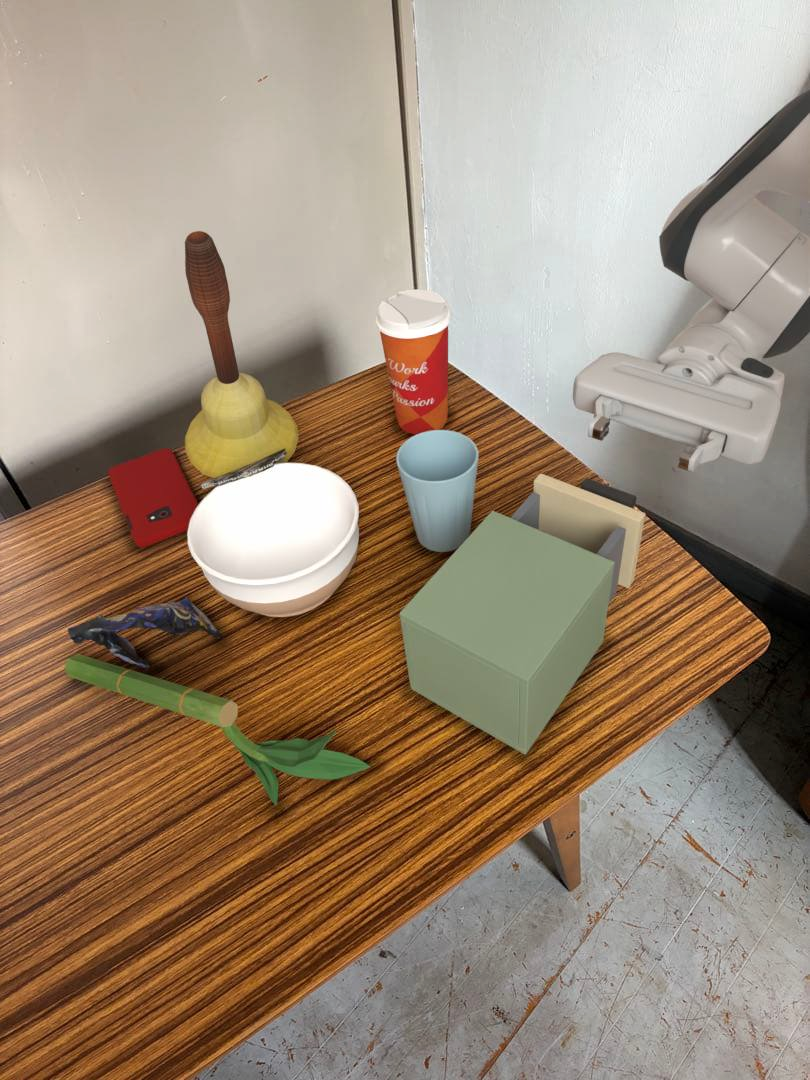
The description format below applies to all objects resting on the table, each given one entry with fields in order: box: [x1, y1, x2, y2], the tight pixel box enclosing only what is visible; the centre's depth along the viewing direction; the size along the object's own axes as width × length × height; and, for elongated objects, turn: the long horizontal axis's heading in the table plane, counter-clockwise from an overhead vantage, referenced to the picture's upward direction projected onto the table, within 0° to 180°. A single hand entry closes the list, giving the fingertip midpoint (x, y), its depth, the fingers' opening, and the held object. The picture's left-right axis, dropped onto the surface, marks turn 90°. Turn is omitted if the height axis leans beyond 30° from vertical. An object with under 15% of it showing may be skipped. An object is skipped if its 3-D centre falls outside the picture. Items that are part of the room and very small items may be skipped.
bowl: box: [186, 462, 360, 618], centre depth 76 cm, size 16×16×8 cm
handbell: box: [184, 230, 300, 479], centre depth 76 cm, size 12×12×25 cm
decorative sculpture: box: [199, 449, 287, 490], centre depth 83 cm, size 20×1×10 cm
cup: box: [395, 429, 480, 553], centre depth 78 cm, size 8×8×10 cm
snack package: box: [67, 596, 223, 671], centre depth 71 cm, size 12×6×12 cm
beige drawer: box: [509, 473, 646, 604], centre depth 71 cm, size 17×10×9 cm, turn 143°
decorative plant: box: [63, 653, 371, 807], centre depth 66 cm, size 6×8×30 cm
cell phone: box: [107, 447, 200, 548], centre depth 89 cm, size 8×15×1 cm, turn 27°
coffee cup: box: [374, 289, 452, 435], centre depth 90 cm, size 8×8×15 cm
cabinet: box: [399, 510, 615, 755], centre depth 66 cm, size 13×11×10 cm
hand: (638, 448), depth 77 cm, fingers open, 8 cm apart
